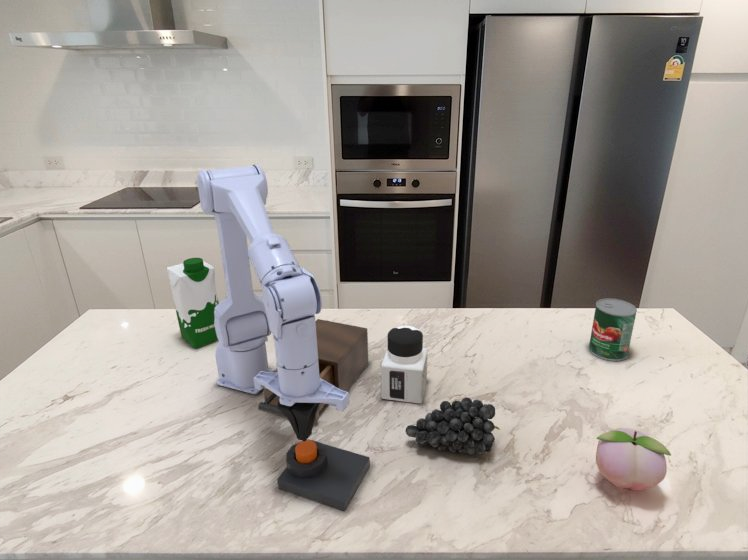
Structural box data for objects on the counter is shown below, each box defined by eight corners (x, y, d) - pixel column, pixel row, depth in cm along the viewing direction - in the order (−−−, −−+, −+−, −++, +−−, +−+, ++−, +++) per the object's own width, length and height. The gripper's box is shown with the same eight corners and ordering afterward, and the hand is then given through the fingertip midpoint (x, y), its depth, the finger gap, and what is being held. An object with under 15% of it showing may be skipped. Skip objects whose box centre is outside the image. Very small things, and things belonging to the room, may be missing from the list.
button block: (275, 487, 72) (272, 469, 70) (305, 447, 79) (304, 430, 78) (344, 511, 68) (343, 493, 66) (369, 466, 75) (369, 448, 74)
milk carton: (193, 352, 107) (177, 269, 99) (176, 337, 113) (160, 258, 105) (229, 337, 112) (217, 258, 105) (211, 324, 118) (198, 248, 111)
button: (292, 460, 72) (291, 451, 72) (303, 446, 75) (302, 437, 74) (310, 466, 71) (309, 457, 71) (321, 452, 74) (320, 443, 73)
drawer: (302, 440, 79) (298, 407, 77) (250, 425, 83) (245, 393, 80) (347, 382, 94) (346, 353, 91) (301, 372, 98) (298, 343, 95)
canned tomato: (630, 348, 106) (639, 303, 102) (624, 365, 100) (634, 318, 96) (592, 338, 110) (599, 295, 106) (584, 354, 104) (592, 309, 100)
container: (421, 404, 89) (423, 344, 84) (381, 399, 91) (380, 339, 86) (426, 380, 96) (428, 323, 91) (388, 376, 98) (388, 319, 93)
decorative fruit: (649, 468, 74) (663, 416, 70) (665, 512, 67) (681, 456, 63) (584, 458, 76) (594, 407, 72) (593, 499, 69) (605, 445, 65)
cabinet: (339, 401, 90) (337, 362, 87) (286, 388, 94) (282, 350, 91) (368, 363, 102) (367, 328, 98) (320, 353, 106) (317, 318, 103)
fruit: (404, 407, 74) (503, 408, 73) (405, 390, 82) (494, 390, 81) (405, 461, 75) (502, 463, 74) (406, 439, 83) (494, 440, 82)
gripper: (236, 363, 66) (248, 441, 71) (330, 385, 61) (335, 468, 66) (266, 338, 72) (275, 412, 77) (354, 357, 67) (357, 434, 72)
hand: (304, 436), depth 72 cm, fingers closed
